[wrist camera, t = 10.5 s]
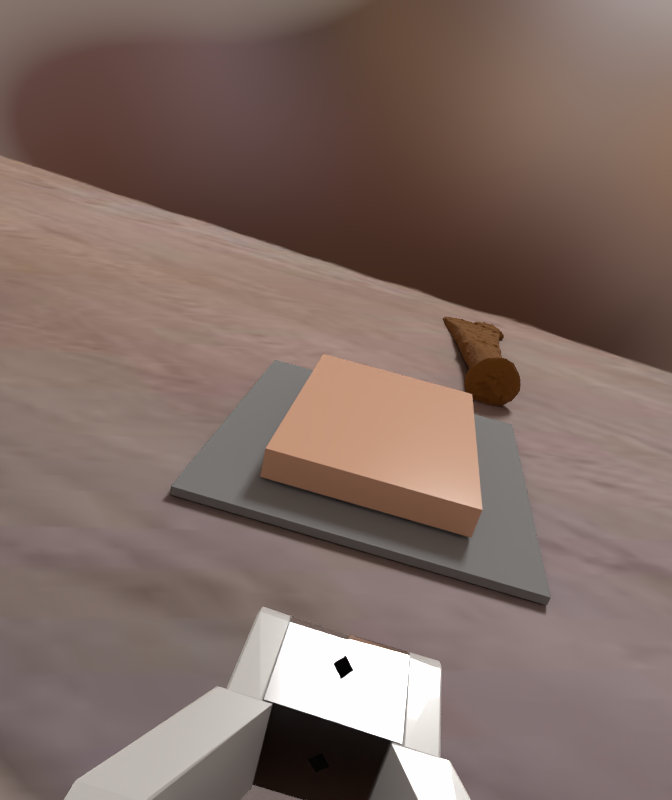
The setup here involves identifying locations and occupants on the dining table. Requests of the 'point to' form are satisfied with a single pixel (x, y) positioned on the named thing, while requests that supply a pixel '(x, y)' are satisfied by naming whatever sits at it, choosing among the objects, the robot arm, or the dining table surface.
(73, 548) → the dining table surface
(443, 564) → the mat
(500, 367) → the primitive tool
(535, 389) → the dining table surface
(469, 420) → the tile
